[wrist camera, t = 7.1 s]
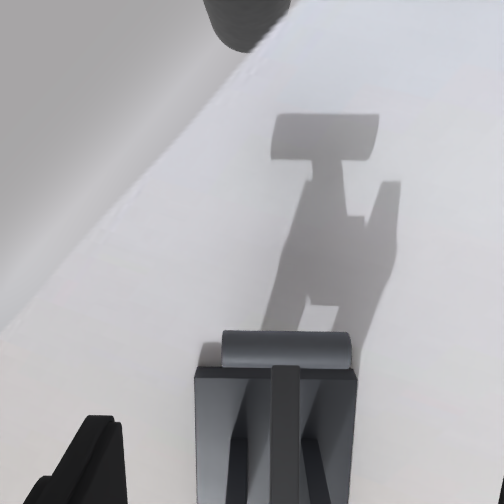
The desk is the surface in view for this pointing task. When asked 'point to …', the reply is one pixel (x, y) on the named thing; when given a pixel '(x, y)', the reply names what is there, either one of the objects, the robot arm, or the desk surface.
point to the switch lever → (285, 389)
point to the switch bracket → (258, 434)
